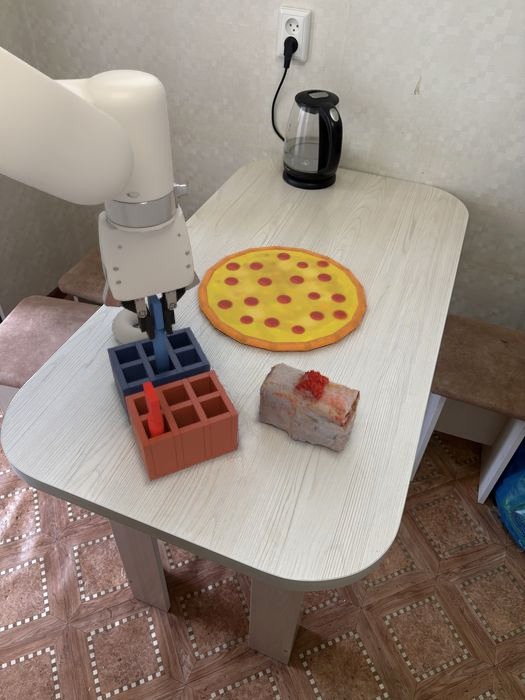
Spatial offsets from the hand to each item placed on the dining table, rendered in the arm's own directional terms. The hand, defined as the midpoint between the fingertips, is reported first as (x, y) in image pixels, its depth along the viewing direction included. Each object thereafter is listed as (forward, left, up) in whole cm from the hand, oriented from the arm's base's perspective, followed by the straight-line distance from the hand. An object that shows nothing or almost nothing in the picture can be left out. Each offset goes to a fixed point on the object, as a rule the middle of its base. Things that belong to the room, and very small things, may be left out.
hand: (158, 330), depth 67 cm
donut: (+1, +16, -15) cm, 22 cm away
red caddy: (0, -8, -14) cm, 16 cm away
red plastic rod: (-4, -10, -14) cm, 17 cm away
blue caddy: (0, +2, -14) cm, 14 cm away
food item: (+17, -13, -15) cm, 26 cm away
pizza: (+28, +16, -14) cm, 35 cm away
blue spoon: (0, 0, -8) cm, 8 cm away
